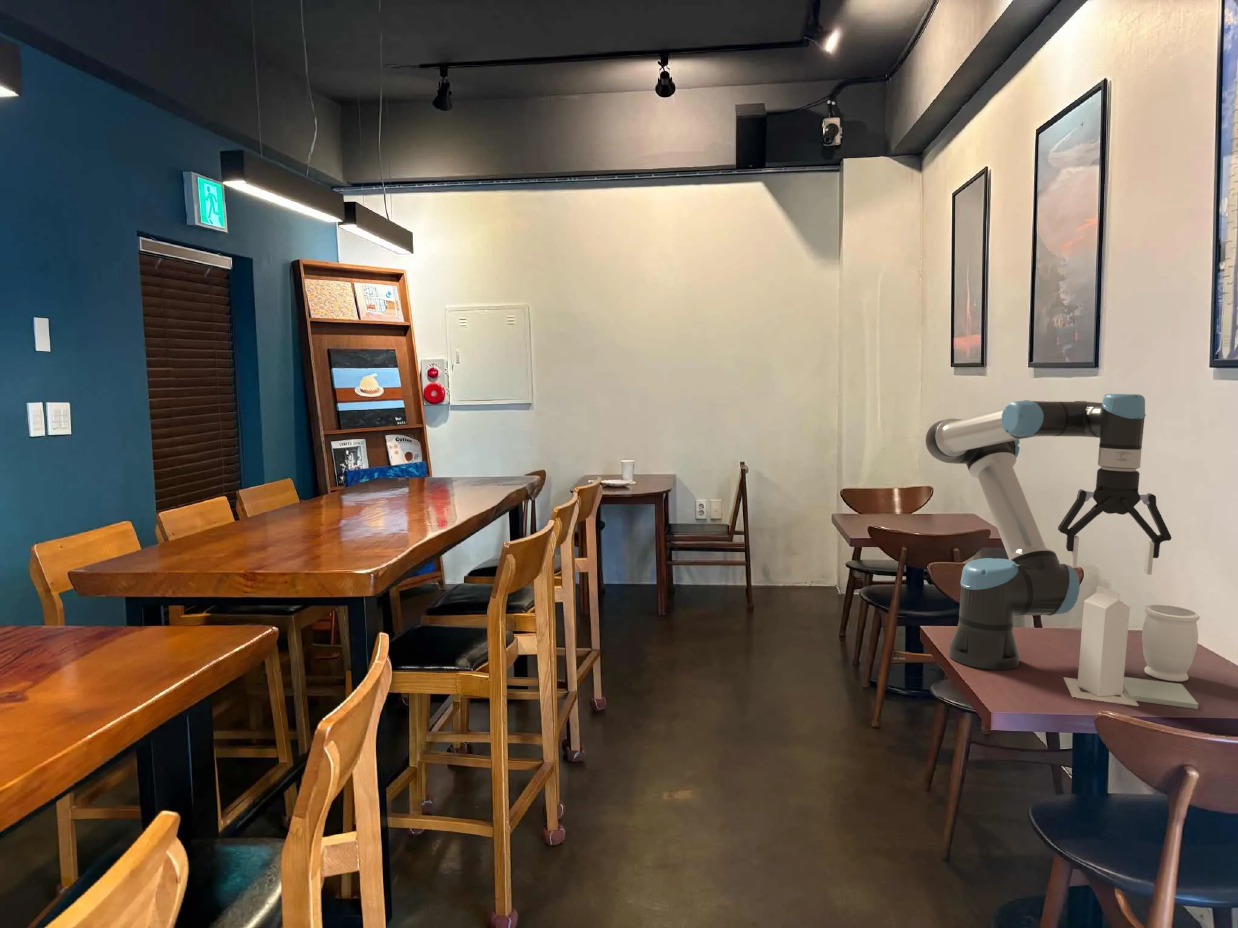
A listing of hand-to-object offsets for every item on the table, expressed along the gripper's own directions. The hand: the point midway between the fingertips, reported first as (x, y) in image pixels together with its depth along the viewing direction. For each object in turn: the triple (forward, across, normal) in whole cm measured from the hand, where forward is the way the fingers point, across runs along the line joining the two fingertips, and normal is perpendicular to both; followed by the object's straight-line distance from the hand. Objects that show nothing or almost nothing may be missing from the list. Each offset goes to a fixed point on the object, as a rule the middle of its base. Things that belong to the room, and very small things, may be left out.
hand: (1110, 570), depth 173 cm
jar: (+26, +16, +17) cm, 35 cm away
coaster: (+26, +11, +3) cm, 29 cm away
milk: (+26, 0, 0) cm, 26 cm away
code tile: (+26, 0, 0) cm, 26 cm away
